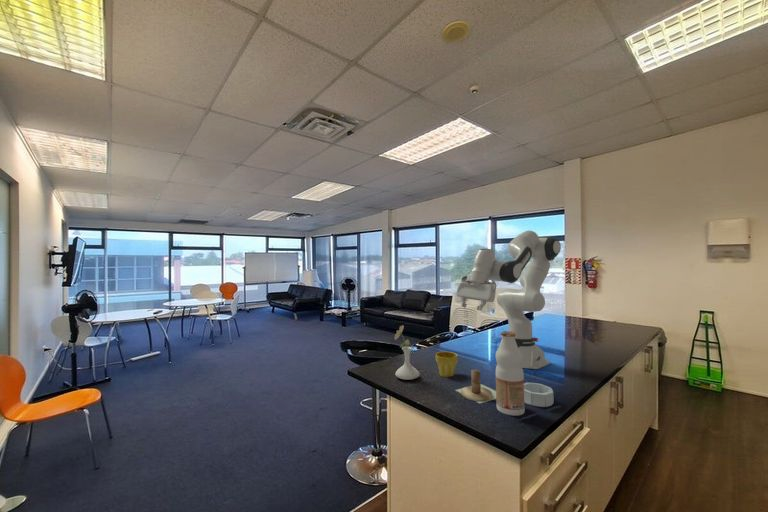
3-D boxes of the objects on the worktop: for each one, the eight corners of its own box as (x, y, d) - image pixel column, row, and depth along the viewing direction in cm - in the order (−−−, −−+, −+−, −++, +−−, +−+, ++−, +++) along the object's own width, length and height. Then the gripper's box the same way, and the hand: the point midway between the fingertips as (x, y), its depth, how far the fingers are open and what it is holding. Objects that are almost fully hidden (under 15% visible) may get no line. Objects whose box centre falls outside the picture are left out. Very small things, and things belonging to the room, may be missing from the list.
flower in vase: (406, 371, 151) (405, 321, 152) (424, 377, 143) (423, 323, 144) (387, 378, 142) (387, 324, 143) (406, 385, 134) (405, 328, 135)
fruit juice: (492, 411, 109) (490, 332, 110) (501, 402, 116) (499, 328, 117) (520, 420, 103) (517, 336, 104) (528, 409, 110) (525, 331, 111)
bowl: (533, 393, 124) (533, 380, 124) (559, 404, 114) (559, 390, 114) (514, 399, 119) (513, 386, 119) (539, 410, 109) (539, 396, 109)
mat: (480, 385, 133) (480, 383, 133) (506, 397, 120) (506, 395, 120) (455, 391, 127) (455, 390, 127) (479, 405, 114) (479, 403, 114)
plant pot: (458, 379, 140) (458, 358, 140) (435, 378, 142) (435, 357, 142) (457, 371, 150) (457, 351, 150) (436, 370, 152) (435, 351, 152)
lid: (477, 386, 130) (476, 364, 130) (498, 397, 119) (498, 372, 120) (454, 392, 125) (454, 368, 125) (475, 403, 114) (474, 378, 114)
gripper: (501, 284, 137) (494, 314, 134) (466, 281, 154) (459, 307, 152) (493, 279, 134) (485, 310, 131) (458, 277, 151) (451, 303, 149)
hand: (471, 308), depth 142 cm, fingers open, 8 cm apart
